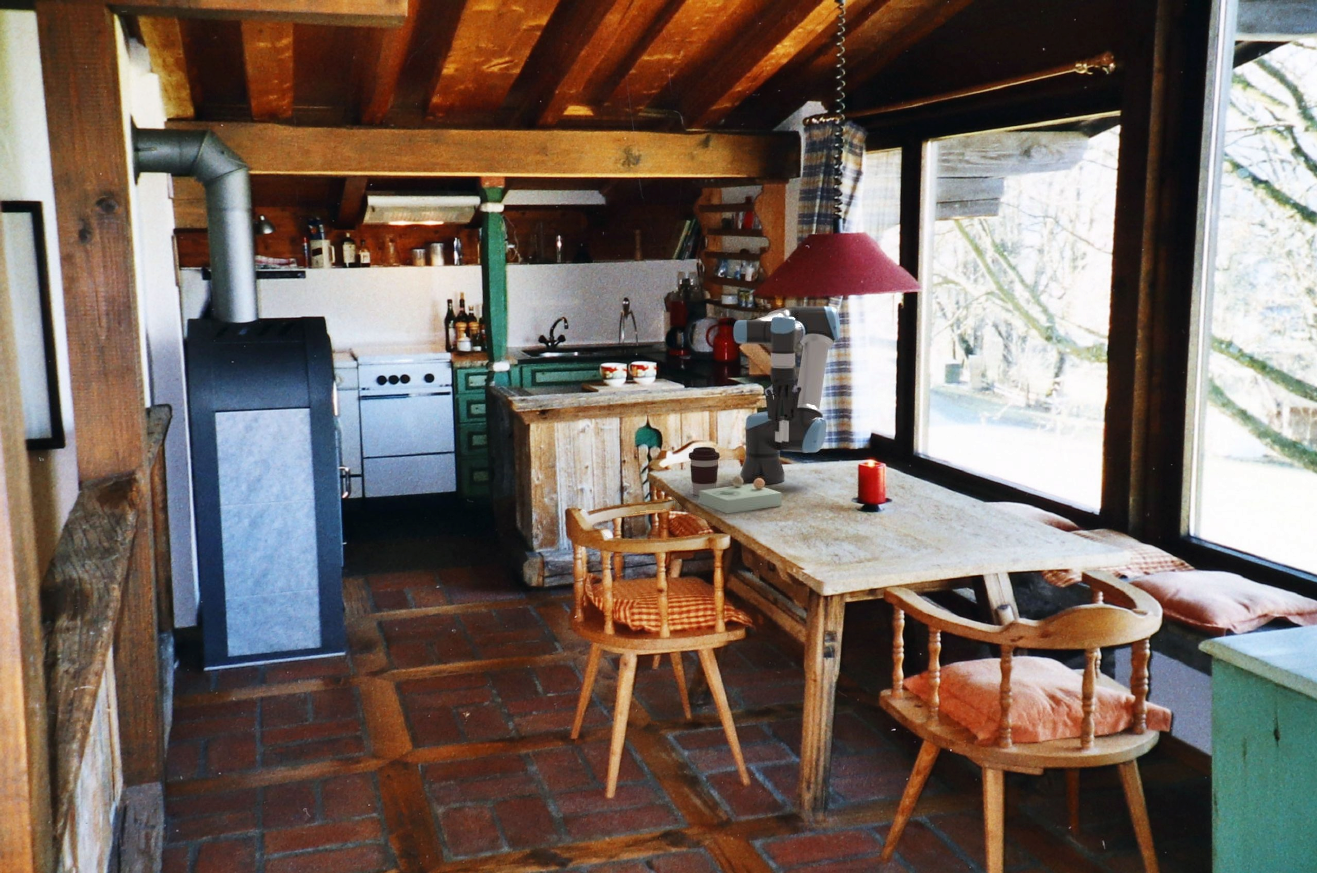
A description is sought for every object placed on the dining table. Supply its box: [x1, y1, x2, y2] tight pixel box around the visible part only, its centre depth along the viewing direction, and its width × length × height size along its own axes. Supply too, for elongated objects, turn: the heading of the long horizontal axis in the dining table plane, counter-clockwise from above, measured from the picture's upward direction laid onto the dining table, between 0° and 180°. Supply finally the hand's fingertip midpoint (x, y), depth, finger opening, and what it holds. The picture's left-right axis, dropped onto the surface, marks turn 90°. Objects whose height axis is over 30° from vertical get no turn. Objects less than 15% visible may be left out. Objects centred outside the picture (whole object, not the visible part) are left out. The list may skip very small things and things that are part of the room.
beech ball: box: [731, 475, 744, 487], centre depth 360 cm, size 4×4×4 cm
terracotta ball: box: [753, 478, 766, 489], centre depth 357 cm, size 4×4×4 cm
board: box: [698, 483, 783, 514], centre depth 354 cm, size 20×16×4 cm
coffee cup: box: [688, 446, 720, 497], centre depth 368 cm, size 10×10×15 cm
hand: (781, 441), depth 359 cm, fingers open, 2 cm apart
